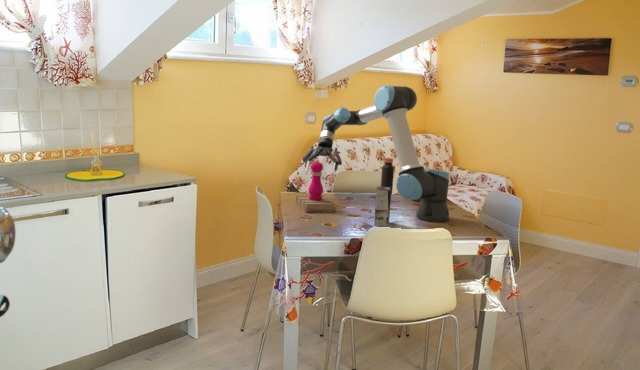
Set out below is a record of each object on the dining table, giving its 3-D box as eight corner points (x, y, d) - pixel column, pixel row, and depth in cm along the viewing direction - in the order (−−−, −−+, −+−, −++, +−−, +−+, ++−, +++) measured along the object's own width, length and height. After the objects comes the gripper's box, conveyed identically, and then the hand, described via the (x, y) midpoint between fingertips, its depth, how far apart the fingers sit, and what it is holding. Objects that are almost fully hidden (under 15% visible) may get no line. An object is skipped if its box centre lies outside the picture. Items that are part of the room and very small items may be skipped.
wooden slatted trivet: (334, 211, 250) (334, 203, 249) (306, 212, 246) (306, 204, 245) (322, 202, 269) (322, 194, 268) (295, 203, 265) (295, 195, 264)
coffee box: (388, 227, 227) (391, 190, 224) (373, 225, 228) (376, 189, 225) (389, 222, 236) (392, 186, 233) (375, 220, 237) (377, 185, 234)
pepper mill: (312, 201, 252) (314, 160, 248) (305, 198, 258) (307, 158, 254) (325, 200, 256) (327, 159, 252) (317, 197, 262) (319, 157, 258)
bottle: (394, 193, 303) (397, 158, 300) (385, 194, 299) (388, 159, 296) (386, 191, 309) (389, 157, 305) (377, 191, 305) (380, 157, 301)
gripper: (349, 147, 278) (344, 179, 266) (303, 144, 282) (296, 175, 270) (349, 138, 272) (343, 170, 260) (302, 135, 276) (294, 167, 264)
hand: (319, 173), depth 265 cm, fingers open, 13 cm apart
